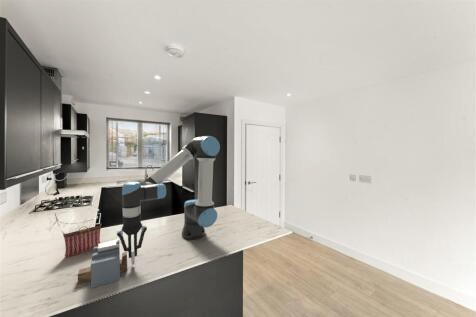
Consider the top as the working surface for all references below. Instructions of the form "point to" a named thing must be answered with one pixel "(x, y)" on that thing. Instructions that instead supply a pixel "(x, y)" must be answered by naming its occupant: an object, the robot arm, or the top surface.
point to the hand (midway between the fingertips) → (133, 263)
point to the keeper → (108, 246)
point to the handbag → (81, 240)
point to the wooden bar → (86, 272)
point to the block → (105, 267)
